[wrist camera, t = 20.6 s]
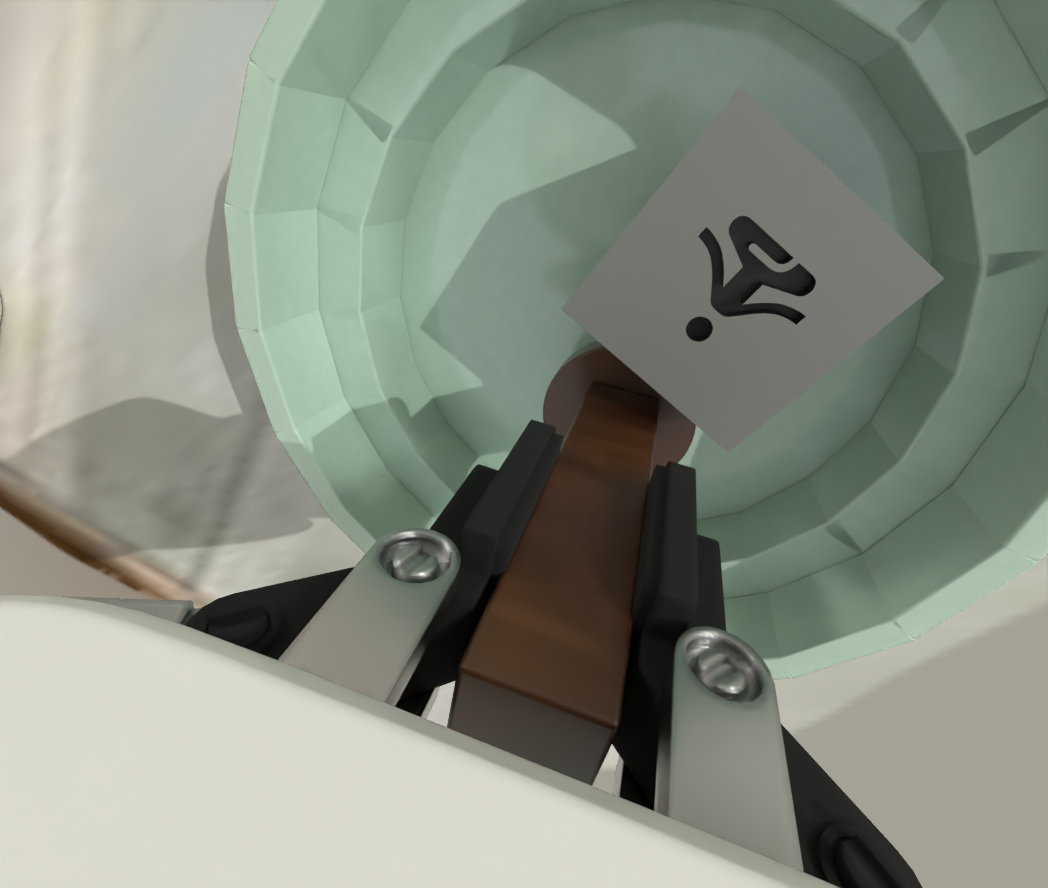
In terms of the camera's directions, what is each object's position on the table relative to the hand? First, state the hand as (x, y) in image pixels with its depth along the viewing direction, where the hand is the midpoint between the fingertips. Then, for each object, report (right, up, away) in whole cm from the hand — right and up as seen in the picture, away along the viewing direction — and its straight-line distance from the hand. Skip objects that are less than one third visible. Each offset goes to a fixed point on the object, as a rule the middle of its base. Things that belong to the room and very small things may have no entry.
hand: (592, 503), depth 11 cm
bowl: (+2, +6, +6) cm, 8 cm away
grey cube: (+4, +7, +4) cm, 9 cm away
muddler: (+2, +2, +5) cm, 6 cm away
